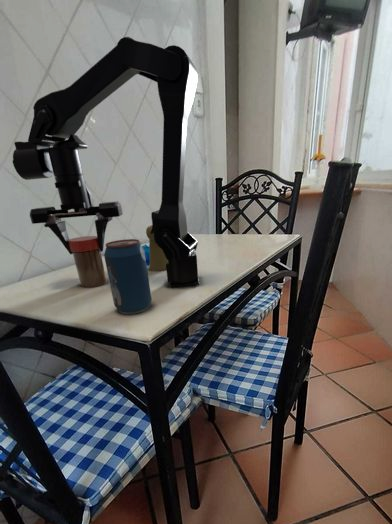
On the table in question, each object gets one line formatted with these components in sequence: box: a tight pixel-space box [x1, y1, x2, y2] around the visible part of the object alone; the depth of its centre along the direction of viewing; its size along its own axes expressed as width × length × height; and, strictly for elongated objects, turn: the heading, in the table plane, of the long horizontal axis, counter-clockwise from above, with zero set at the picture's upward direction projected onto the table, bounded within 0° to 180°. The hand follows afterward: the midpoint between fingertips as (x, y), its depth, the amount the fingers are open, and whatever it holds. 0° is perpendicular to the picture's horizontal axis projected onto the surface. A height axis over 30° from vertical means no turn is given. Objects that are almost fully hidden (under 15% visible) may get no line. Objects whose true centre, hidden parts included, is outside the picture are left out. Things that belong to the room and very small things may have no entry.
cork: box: [145, 224, 168, 272], centre depth 83 cm, size 6×6×11 cm
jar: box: [72, 248, 108, 288], centre depth 74 cm, size 6×6×10 cm
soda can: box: [103, 238, 152, 315], centre depth 56 cm, size 7×7×12 cm
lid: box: [68, 235, 99, 252], centre depth 72 cm, size 7×7×2 cm
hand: (86, 252), depth 73 cm, fingers closed on lid, 7 cm apart
